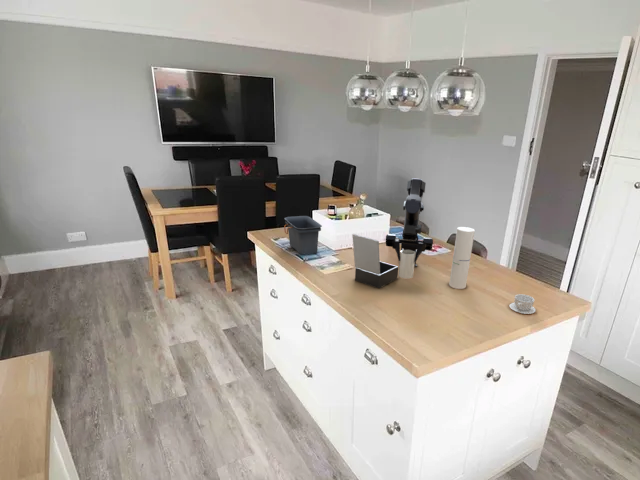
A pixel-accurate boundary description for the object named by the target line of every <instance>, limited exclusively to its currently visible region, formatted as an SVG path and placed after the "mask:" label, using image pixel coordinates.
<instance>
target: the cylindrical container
mask: <svg viewBox="0 0 640 480" xmlns="http://www.w3.org/2000/svg"><path fill="white" fill-rule="evenodd" d="M475 232H476V229H475V228H472V227H467V226H457V228H456V234H455V242H454V247H453V248H454V249H453V255H452V263H451V269H450V277H449V284H448V285H449V287H450V288H453V289H457V290H463V289H466V287H467V281H468V275H469V269H470V264H471V256H472V251H473V244H474V237H475Z"/></svg>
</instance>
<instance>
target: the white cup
mask: <svg viewBox="0 0 640 480" xmlns="http://www.w3.org/2000/svg"><path fill="white" fill-rule="evenodd" d="M415 255H416V252H415V251H412V250H402V251H401V250H400V261H398V278H401V279H404V280H405V279H412V278H414V274H415V273H414V272H415V266H414V265H415Z"/></svg>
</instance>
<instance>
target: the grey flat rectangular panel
mask: <svg viewBox="0 0 640 480" xmlns="http://www.w3.org/2000/svg"><path fill="white" fill-rule="evenodd" d="M352 248H353V260H354V261H353V262H354V268H359V269H362V270H365V271H369V272H372V273H375V274H378V275H380V261H381V259H380V241H379V239H374V238H370V237H366V236H363V235H359V234H355V233H353V234H352Z"/></svg>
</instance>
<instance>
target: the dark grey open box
mask: <svg viewBox="0 0 640 480" xmlns="http://www.w3.org/2000/svg"><path fill="white" fill-rule="evenodd" d="M354 268H355V269H354V271H355V272H354V274H355V275H354V281H355V282H358V283H362V284H364V285H367V286H371V287H373V288H376V289H380V288H383V287H385V286H386V285H388V284H390V283H392V282H394V281H396V280H398V278H399V265H398V266H397V265H395V264H391V263H387V262H384V261H381V260H380V275H378V274H375V273H372V272H369V271H365V270H362V269H359V268H356V267H354Z"/></svg>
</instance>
